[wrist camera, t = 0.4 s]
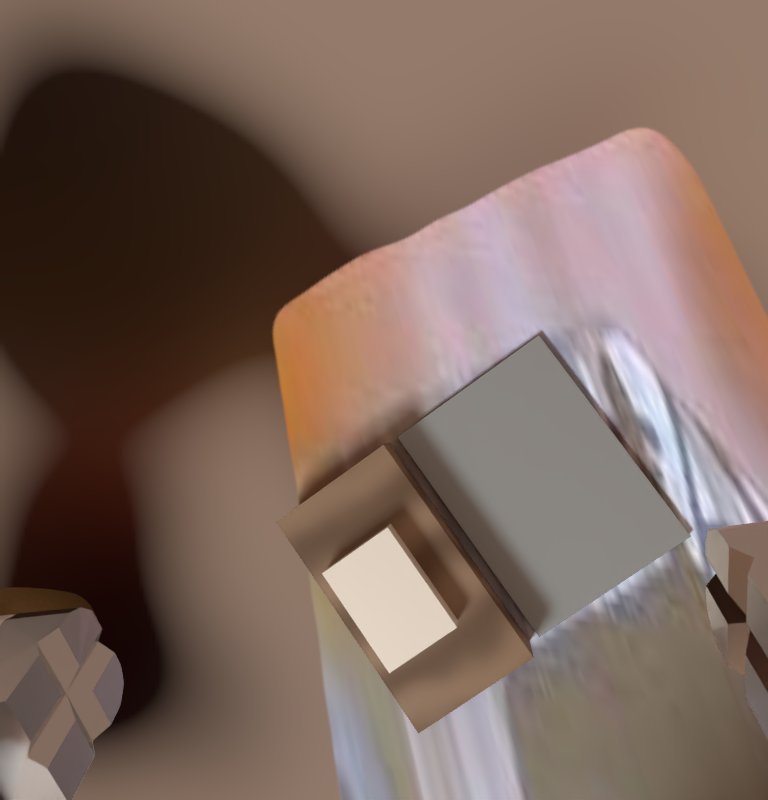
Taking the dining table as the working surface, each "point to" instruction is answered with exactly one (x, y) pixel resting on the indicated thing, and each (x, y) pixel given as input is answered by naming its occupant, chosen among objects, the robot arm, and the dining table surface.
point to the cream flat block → (390, 598)
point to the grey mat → (542, 486)
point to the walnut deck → (440, 560)
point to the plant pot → (38, 600)
